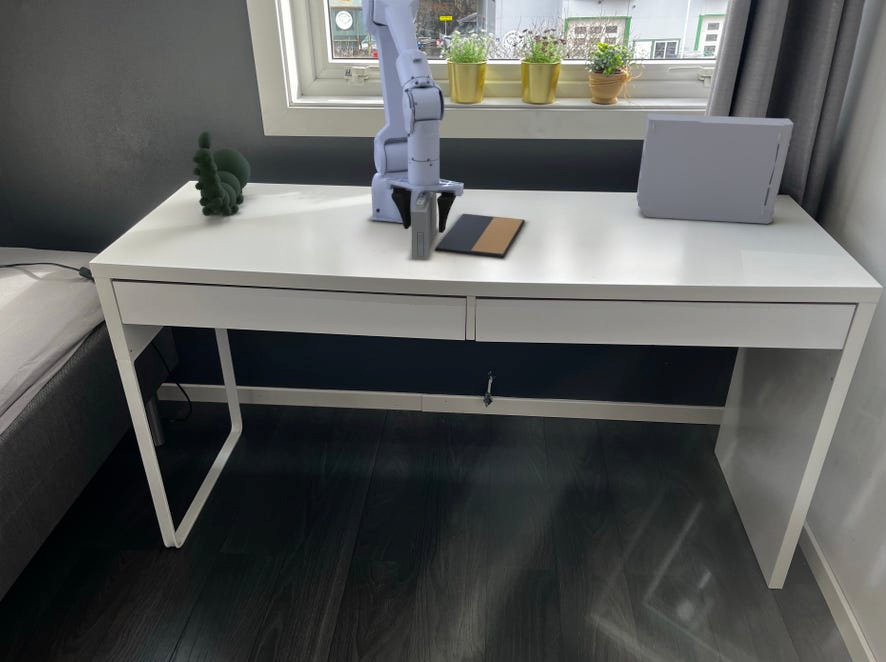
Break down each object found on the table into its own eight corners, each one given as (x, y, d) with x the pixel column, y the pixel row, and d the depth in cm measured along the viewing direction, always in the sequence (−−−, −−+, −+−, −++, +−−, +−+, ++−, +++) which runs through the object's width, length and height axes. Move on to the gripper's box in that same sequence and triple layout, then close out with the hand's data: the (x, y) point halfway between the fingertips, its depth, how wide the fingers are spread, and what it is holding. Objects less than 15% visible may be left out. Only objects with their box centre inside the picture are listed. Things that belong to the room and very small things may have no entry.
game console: (773, 225, 154) (796, 125, 144) (636, 217, 158) (649, 119, 148) (767, 215, 159) (789, 118, 149) (635, 208, 163) (647, 113, 153)
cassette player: (423, 228, 152) (422, 179, 147) (436, 229, 151) (436, 180, 146) (412, 259, 138) (410, 206, 133) (426, 259, 138) (426, 206, 133)
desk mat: (435, 251, 142) (435, 247, 141) (463, 216, 158) (463, 213, 158) (503, 258, 138) (503, 255, 138) (524, 222, 155) (524, 219, 155)
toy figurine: (238, 233, 154) (260, 185, 174) (223, 141, 143) (247, 102, 163) (191, 233, 153) (218, 185, 174) (172, 142, 142) (203, 102, 163)
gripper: (378, 160, 135) (381, 232, 142) (456, 166, 131) (455, 240, 138) (391, 150, 141) (393, 220, 148) (466, 156, 137) (465, 227, 144)
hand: (424, 229), depth 143 cm, fingers open, 6 cm apart
